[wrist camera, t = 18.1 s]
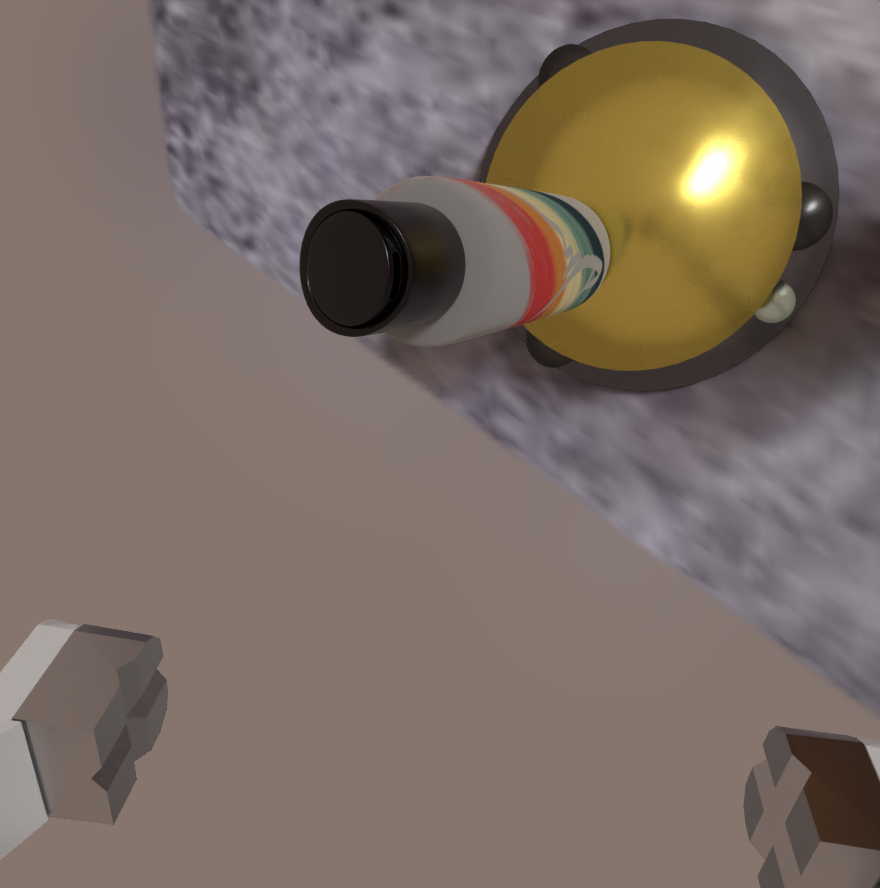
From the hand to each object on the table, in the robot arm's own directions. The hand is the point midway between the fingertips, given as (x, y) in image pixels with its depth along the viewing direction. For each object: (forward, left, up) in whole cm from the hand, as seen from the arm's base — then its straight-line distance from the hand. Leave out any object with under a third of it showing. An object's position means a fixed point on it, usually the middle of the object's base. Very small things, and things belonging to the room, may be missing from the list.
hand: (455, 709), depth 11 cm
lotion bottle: (+10, 0, -31) cm, 32 cm away
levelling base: (+8, -4, -34) cm, 35 cm away
